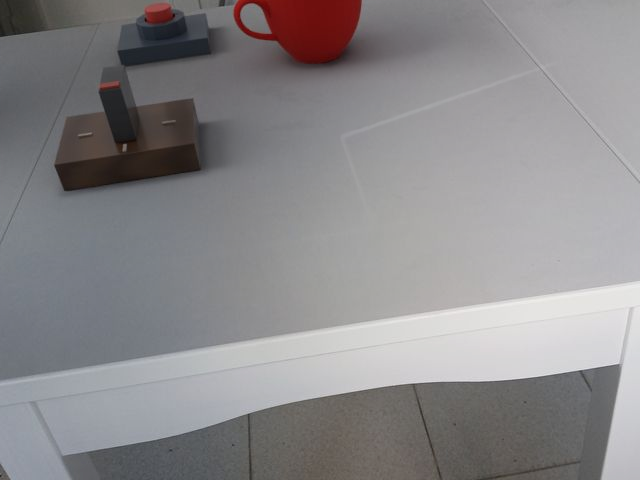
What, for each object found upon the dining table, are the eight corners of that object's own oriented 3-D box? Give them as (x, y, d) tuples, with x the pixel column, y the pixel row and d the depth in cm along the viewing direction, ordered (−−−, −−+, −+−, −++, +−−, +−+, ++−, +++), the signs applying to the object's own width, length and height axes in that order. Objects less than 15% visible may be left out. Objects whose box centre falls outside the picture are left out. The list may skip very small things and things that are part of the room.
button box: (121, 67, 97) (112, 36, 94) (126, 40, 104) (117, 11, 102) (211, 54, 98) (204, 23, 95) (208, 28, 105) (203, -1, 102)
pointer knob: (118, 118, 78) (102, 65, 75) (138, 115, 79) (123, 62, 75) (115, 143, 74) (97, 89, 70) (136, 140, 74) (120, 85, 70)
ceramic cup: (225, 60, 96) (209, -22, 89) (336, 27, 101) (329, -52, 94) (266, 92, 87) (252, 5, 81) (385, 55, 93) (381, -30, 86)
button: (146, 26, 97) (143, 13, 96) (147, 18, 100) (144, 4, 99) (173, 23, 98) (170, 9, 96) (173, 14, 100) (170, 0, 99)
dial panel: (64, 191, 74) (53, 163, 72) (75, 141, 82) (65, 115, 80) (200, 169, 75) (193, 141, 73) (198, 123, 83) (192, 96, 81)
